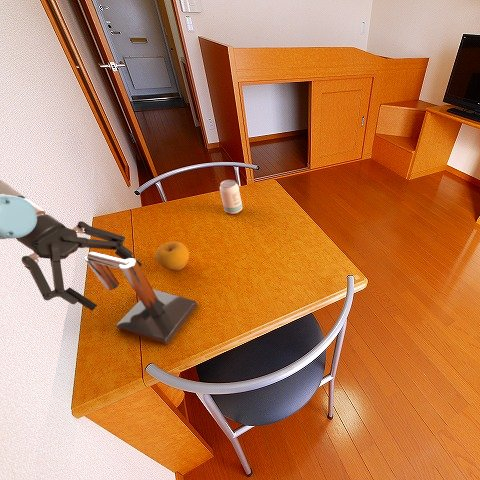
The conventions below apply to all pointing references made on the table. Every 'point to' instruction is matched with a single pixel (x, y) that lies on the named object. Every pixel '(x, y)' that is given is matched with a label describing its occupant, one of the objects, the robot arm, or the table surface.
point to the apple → (172, 255)
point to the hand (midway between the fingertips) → (119, 286)
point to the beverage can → (231, 196)
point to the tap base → (158, 318)
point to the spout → (132, 274)
